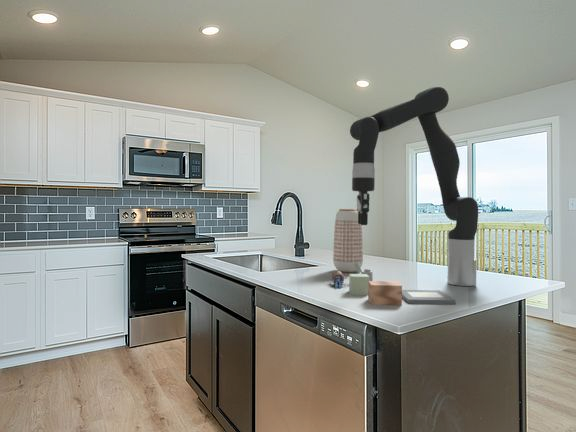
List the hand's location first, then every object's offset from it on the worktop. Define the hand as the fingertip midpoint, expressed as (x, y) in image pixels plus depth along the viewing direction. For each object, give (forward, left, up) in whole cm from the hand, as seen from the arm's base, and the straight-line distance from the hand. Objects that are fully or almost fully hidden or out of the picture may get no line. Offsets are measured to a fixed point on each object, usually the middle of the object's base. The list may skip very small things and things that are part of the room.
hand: (362, 224), depth 132 cm
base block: (-5, +14, -23) cm, 28 cm away
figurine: (+7, -11, -24) cm, 27 cm away
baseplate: (-19, +8, -23) cm, 31 cm away
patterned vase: (0, -43, -23) cm, 49 cm away
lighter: (-3, -17, -23) cm, 29 cm away
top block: (+1, +1, -23) cm, 23 cm away
